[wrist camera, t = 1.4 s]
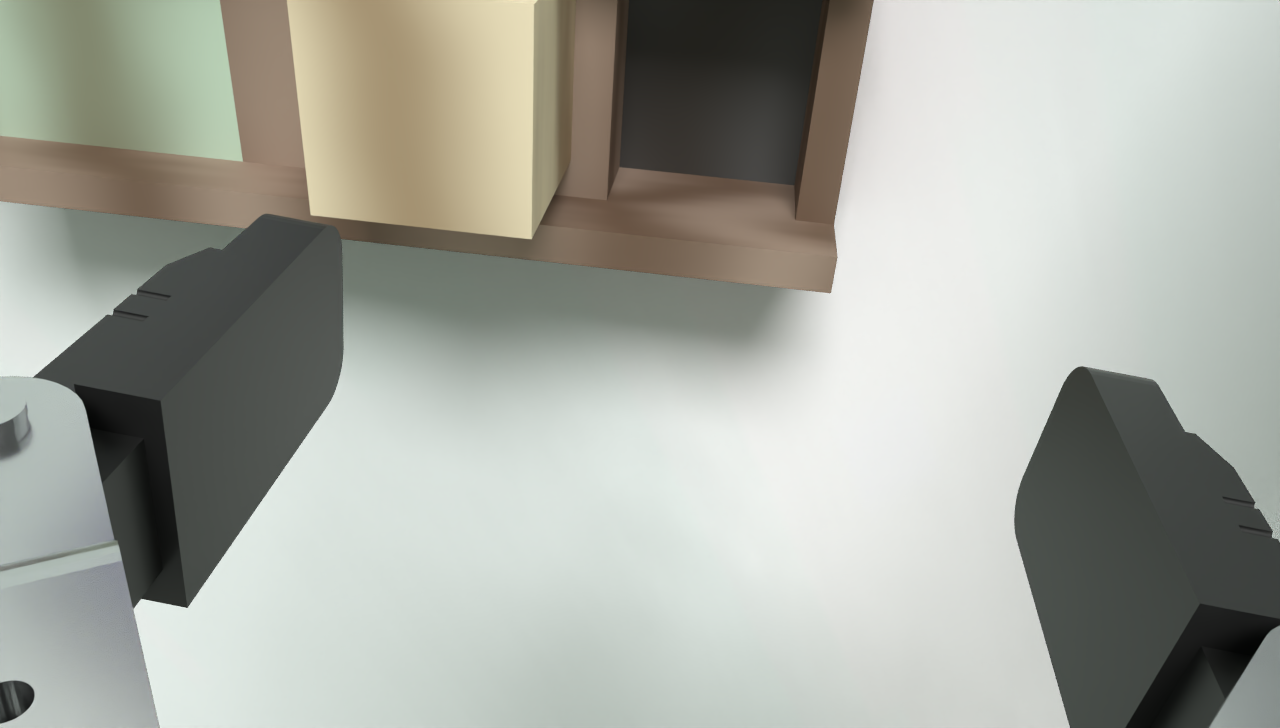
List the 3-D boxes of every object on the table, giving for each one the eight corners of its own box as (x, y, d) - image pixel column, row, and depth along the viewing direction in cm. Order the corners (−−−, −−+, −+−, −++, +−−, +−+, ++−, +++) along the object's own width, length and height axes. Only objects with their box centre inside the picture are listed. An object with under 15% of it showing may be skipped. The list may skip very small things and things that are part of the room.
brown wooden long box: (881, -125, 25) (907, -90, 20) (823, 214, 30) (832, 312, 25) (-45, -203, 27) (-239, -189, 22) (38, 131, 32) (-105, 207, 26)
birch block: (577, -42, 24) (533, 4, 20) (571, 160, 27) (531, 239, 23) (370, -61, 25) (284, -19, 20) (384, 141, 27) (310, 214, 23)
